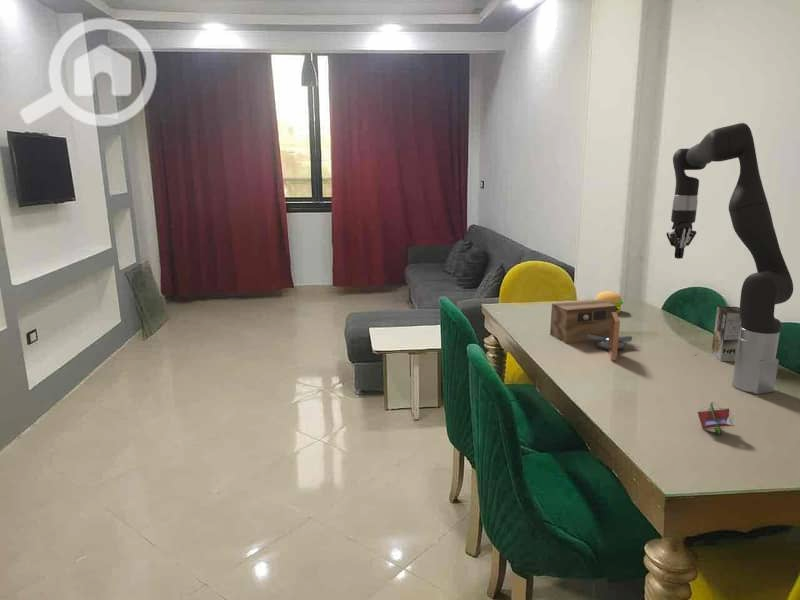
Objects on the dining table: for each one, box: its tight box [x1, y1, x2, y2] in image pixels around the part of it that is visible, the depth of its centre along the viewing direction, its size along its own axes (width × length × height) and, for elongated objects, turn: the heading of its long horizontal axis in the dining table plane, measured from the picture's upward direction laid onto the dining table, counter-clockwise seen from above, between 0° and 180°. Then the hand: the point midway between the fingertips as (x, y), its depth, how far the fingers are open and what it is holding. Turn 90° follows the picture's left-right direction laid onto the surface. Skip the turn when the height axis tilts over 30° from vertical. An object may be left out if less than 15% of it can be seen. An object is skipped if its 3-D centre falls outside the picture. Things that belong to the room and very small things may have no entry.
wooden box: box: [549, 299, 616, 344], centre depth 201 cm, size 12×20×12 cm, turn 106°
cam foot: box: [587, 312, 633, 361], centre depth 185 cm, size 20×14×13 cm
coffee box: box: [711, 305, 741, 363], centre depth 179 cm, size 9×6×16 cm
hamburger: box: [593, 290, 624, 314], centre depth 236 cm, size 12×12×9 cm
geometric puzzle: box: [697, 401, 735, 437], centre depth 131 cm, size 7×7×8 cm
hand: (678, 258), depth 195 cm, fingers closed
